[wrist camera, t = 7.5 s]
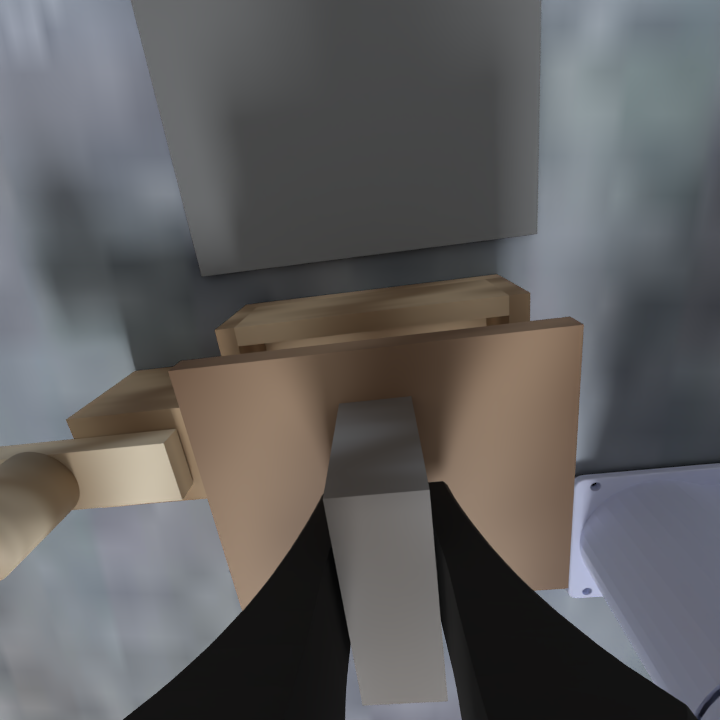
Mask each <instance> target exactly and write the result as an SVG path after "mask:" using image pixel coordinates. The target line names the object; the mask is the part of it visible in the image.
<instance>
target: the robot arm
mask: <svg viewBox="0 0 720 720" xmlns="http://www.w3.org/2000/svg"><path fill="white" fill-rule="evenodd" d="M596 482H597V483H596ZM593 483H596V484H595V485H594V486H591V485H592V484H593ZM428 484H429V489H430V500H431V512H432V523H433V535H434V547H435V559H436V570H437V582H438V594H439V605H440V617H441V623H442V627H443V631H444V635H445V639H446V643H447V647H448V652H449V656H450V660H451V664H452V668H453V673H454V678H455V682H456V687H457V693H458V699H459V705H460V711H461V717H462V720H720V463H715V464H703V465H692V466H681V467H669V468H658V469H646V470H635V471H624V472H612V473H601V474H589V475H581V476H578V477H576V478H575V482H574V499H573V516H572V533H571V550H570V567H569V584H568V588H566V590H567V592H568V594H569V595H570V596H571V597H573V598H586V597H601V596H603V597H604V599H605V600H606V602H607V604H608V605H609V607H610V609H611V610H612V612H613V614H614V616H615V617H616V619H617V621H618V622H619V624H620V626H621V627H622V629H623V631H624V633H625V634H626V636H627V638H628V639H629V641H630V643H631V644H632V646H633V648H634V650H635V651H636V653H637V655H638V656H639V658H640V660H641V661H642V663H643V665H644V667H645V668H646V670H647V672H648V673H649V675H650V677H651V678H652V680H653V682H654V683H652V682H651V681H649V680H648V679H646V678H645V677H643V676H642V675H640V674H638V673H637V672H635V671H634V670H632V669H631V668H629V667H628V666H626V665H625V664H623V663H622V662H621V661H619V660H618V659H617V658H615V657H614V656H613V655H611V654H610V653H608V652H607V651H606V650H604V649H603V648H602V647H600V646H599V645H598V644H596V643H595V642H594V641H593V640H591V639H590V638H589V637H588V636H586V635H585V634H584V633H583V632H581V631H580V630H579V629H578V628H576V627H575V626H574V625H573V624H572V623H570V622H569V621H568V620H567V619H565V618H564V617H563V616H562V615H560V614H559V613H558V612H557V611H556V610H554V609H553V608H552V607H551V606H550V605H549V604H548V603H547V602H546V601H544V600H543V599H542V598H541V597H540V596H539V595H538V594H537V593H536V592H535V591H534V590H533V589H531V588H530V587H529V586H528V585H527V584H526V583H525V582H524V581H523V580H522V579H521V578H520V577H519V576H518V575H517V574H516V573H515V572H514V571H513V570H512V569H511V568H510V567H509V565H508V564H507V563H506V562H505V561H504V560H503V559H502V558H501V557H500V556H499V554H498V553H497V552H496V551H495V550H494V549H493V548H492V546H491V545H490V544H489V543H488V542H487V541H486V539H485V538H484V537H483V536H482V534H481V533H480V532H479V531H478V529H477V528H476V527H475V525H474V524H473V523H472V522H471V520H470V519H469V518H468V516H467V515H466V513H465V512H464V511H463V509H462V508H461V506H460V505H459V503H458V502H457V500H456V499H455V497H454V496H453V494H452V492H451V490H450V489H449V487H448V485H447V484H446V483H445V482H444V481H438V482H428ZM323 495H324V494H323ZM323 495H322V496H321V498H320V500H319V502H318V504H317V506H316V507H315V509H314V511H313V513H312V515H311V516H310V518H309V520H308V521H307V523H306V525H305V526H304V528H303V530H302V531H301V533H300V534H299V536H298V538H297V539H296V541H295V542H294V544H293V545H292V547H291V549H290V550H289V552H288V553H287V554H286V556H285V557H284V559H283V560H282V561H281V563H280V564H279V566H278V567H277V568H276V570H275V571H274V573H273V574H272V575H271V577H270V578H269V579H268V581H267V582H266V583H265V584H264V586H263V587H262V588H261V590H260V591H259V592H258V593H257V594H256V596H255V597H254V598H253V599H252V600H251V602H250V603H249V604H248V605H247V606H246V607H245V609H244V610H243V611H242V612H241V613H240V614H239V615H238V616H237V617H236V618H235V620H234V621H233V622H232V623H231V624H230V625H229V626H228V627H227V628H226V629H225V630H224V631H223V632H222V634H221V635H220V636H219V637H218V638H217V639H216V640H215V641H214V642H213V643H212V644H211V645H210V646H209V647H208V648H207V649H206V650H204V651H203V652H202V653H201V654H200V655H199V656H198V657H197V658H196V659H195V660H194V661H193V662H191V663H190V664H189V665H188V666H187V667H186V668H185V669H184V670H183V671H182V672H180V673H179V674H178V675H177V676H176V677H175V678H174V679H173V680H171V681H170V682H169V683H168V684H167V685H166V686H164V687H163V688H162V689H161V690H160V691H158V692H157V693H156V694H155V695H153V696H152V697H151V698H150V699H148V700H147V701H146V702H145V703H143V704H142V705H141V706H140V707H138V708H137V709H136V710H134V711H133V712H132V713H131V714H129V715H128V716H127V717H126V718H124V719H123V720H345V701H346V684H347V672H348V663H349V654H350V645H351V642H350V637H349V632H348V627H347V621H346V616H345V611H344V606H343V601H342V596H341V590H340V585H339V580H338V575H337V570H336V565H335V559H334V554H333V549H332V544H331V539H330V534H329V529H328V523H327V518H326V513H325V508H324V503H323Z"/></svg>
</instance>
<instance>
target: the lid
mask: <svg viewBox="0 0 720 720" xmlns="http://www.w3.org/2000/svg"><path fill="white" fill-rule="evenodd" d="M583 329H584V325H583V324H582V323H580V322H578V321H577V320H575V319H573V318H571V317H562V318H554V319H545V320H536V321H527V322H518V323H510V324H501V325H492V326H483V327H474V328H465V329H457V330H448V331H439V332H430V333H421V334H413V335H404V336H395V337H386V338H377V339H368V340H360V341H351V342H342V343H333V344H324V345H316V346H307V347H298V348H289V349H280V350H271V351H263V352H254V353H245V354H236V355H227V356H219V357H210V358H201V359H192V360H183V361H180V362H179V363H177V364H176V365H175V366H174V367H172V368H171V369H170V370H169V371H168V373H169V376H170V379H171V382H172V386H173V389H174V392H175V395H176V399H177V402H178V405H179V408H180V411H181V415H182V418H183V421H184V424H185V428H186V431H187V434H188V437H189V440H190V444H191V447H192V450H193V453H194V457H195V460H196V463H197V466H198V470H199V473H200V476H201V479H202V482H203V486H204V489H205V492H206V495H207V499H208V502H209V505H210V508H211V512H212V515H213V518H214V521H215V524H216V528H217V531H218V534H219V537H220V541H221V544H222V547H223V550H224V554H225V557H226V560H227V563H228V566H229V570H230V573H231V576H232V579H233V583H234V586H235V589H236V592H237V595H238V599H239V602H240V605H241V608H242V610H244V609H245V607H246V606H247V605H248V604H249V603H250V602H251V600H252V599H253V598H254V597H255V596H256V594H257V593H258V592H259V591H260V590H261V588H262V587H263V586H264V584H265V583H266V582H267V581H268V579H269V578H270V577H271V575H272V574H273V573H274V571H275V570H276V568H277V567H278V566H279V564H280V563H281V561H282V560H283V559H284V557H285V556H286V554H287V553H288V552H289V550H290V549H291V547H292V545H293V544H294V542H295V541H296V539H297V538H298V536H299V534H300V533H301V531H302V530H303V528H304V526H305V525H306V523H307V521H308V520H309V518H310V516H311V515H312V513H313V511H314V509H315V507H316V506H317V504H318V502H319V500H320V498H321V496H322V495H323V494H324V495H323V503H324V508H325V513H326V518H327V523H328V529H329V534H330V539H331V544H332V549H333V554H334V559H335V565H336V570H337V575H338V580H339V585H340V590H341V596H342V601H343V606H344V611H345V616H346V621H347V627H348V632H349V637H350V642H351V647H352V652H353V658H354V663H355V668H356V673H357V678H358V683H359V689H360V694H361V699H362V704H363V705H382V704H403V703H423V702H443V701H448V699H447V687H446V676H445V664H444V652H443V641H442V629H441V617H440V605H439V594H438V582H437V570H436V559H435V547H434V535H433V523H432V512H431V500H430V489H429V484H428V482H438V481H444V482H445V483H446V484H447V485H448V487H449V489H450V490H451V492H452V494H453V496H454V497H455V499H456V500H457V502H458V503H459V505H460V506H461V508H462V509H463V511H464V512H465V513H466V515H467V516H468V518H469V519H470V520H471V522H472V523H473V524H474V525H475V527H476V528H477V529H478V531H479V532H480V533H481V534H482V536H483V537H484V538H485V539H486V541H487V542H488V543H489V544H490V545H491V546H492V548H493V549H494V550H495V551H496V552H497V553H498V554H499V556H500V557H501V558H502V559H503V560H504V561H505V562H506V563H507V564H508V565H509V567H510V568H511V569H512V570H513V571H514V572H515V573H516V574H517V575H518V576H519V577H520V578H521V579H522V580H523V581H524V582H525V583H526V584H527V585H528V586H529V587H530V588H531V589H533V590H534V591H535V590H550V589H565V588H568V584H569V567H570V550H571V533H572V516H573V499H574V482H575V465H576V448H577V431H578V414H579V397H580V380H581V363H582V346H583Z"/></svg>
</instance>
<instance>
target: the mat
mask: <svg viewBox="0 0 720 720" xmlns="http://www.w3.org/2000/svg"><path fill="white" fill-rule="evenodd" d="M131 3H132V7H133V11H134V15H135V18H136V22H137V26H138V30H139V34H140V38H141V42H142V46H143V50H144V54H145V57H146V61H147V65H148V69H149V73H150V77H151V81H152V85H153V89H154V93H155V96H156V100H157V104H158V108H159V112H160V116H161V120H162V124H163V128H164V132H165V135H166V139H167V143H168V147H169V151H170V155H171V159H172V163H173V167H174V171H175V174H176V178H177V182H178V186H179V190H180V194H181V198H182V202H183V206H184V210H185V213H186V217H187V221H188V225H189V229H190V233H191V237H192V241H193V245H194V249H195V252H196V256H197V260H198V264H199V268H200V272H201V276H202V277H203V276H211V275H218V274H226V273H234V272H242V271H250V270H258V269H265V268H273V267H281V266H289V265H297V264H305V263H313V262H320V261H328V260H336V259H344V258H352V257H360V256H368V255H375V254H383V253H391V252H399V251H407V250H415V249H423V248H430V247H438V246H446V245H454V244H462V243H470V242H478V241H485V240H493V239H501V238H509V237H517V236H525V235H533V234H537V212H538V156H539V101H540V46H541V0H131Z"/></svg>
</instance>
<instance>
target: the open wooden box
mask: <svg viewBox="0 0 720 720" xmlns="http://www.w3.org/2000/svg"><path fill="white" fill-rule="evenodd" d="M527 321H530V293H529V292H528V291H526V290H524V289H522V288H521V287H519V286H517V285H515V284H514V283H512V282H510V281H508V280H506V279H505V278H503V277H501V276H499V275H498V274H495V275H486V276H478V277H470V278H462V279H453V280H445V281H437V282H429V283H421V284H412V285H404V286H396V287H388V288H379V289H371V290H363V291H355V292H347V293H338V294H330V295H322V296H314V297H305V298H297V299H289V300H281V301H273V302H264V303H256V304H248V305H245V306H244V307H243V308H242V309H240V310H239V311H238V312H237V313H235V314H234V315H233V316H232V317H230V318H229V319H228V320H227V321H225V322H224V323H223V324H222V325H220V326H219V327H218V328H217V329H215V333H216V337H217V341H218V345H219V349H220V353H221V356H227V355H236V354H245V353H254V352H263V351H271V350H280V349H289V348H298V347H307V346H316V345H324V344H333V343H342V342H351V341H360V340H368V339H377V338H386V337H395V336H404V335H413V334H421V333H430V332H439V331H448V330H457V329H465V328H474V327H483V326H492V325H501V324H510V323H518V322H527ZM171 368H172V367H166V368H157V369H148V370H139V371H134V372H133V373H131V374H130V375H129V376H127V377H126V378H124V379H123V380H122V381H120V382H119V383H117V384H116V385H114V386H113V387H112V388H110V389H109V390H107V391H106V392H105V393H103V394H102V395H100V396H99V397H97V398H96V399H95V400H93V401H92V402H90V403H89V404H88V405H86V406H85V407H83V408H82V409H80V410H79V411H78V412H76V413H75V414H73V415H72V416H71V417H69V418H68V419H66V421H67V423H68V426H69V428H70V430H71V433H72V435H73V438H74V439H80V438H90V437H100V436H110V435H120V434H129V433H139V432H149V431H159V430H169V429H176V430H177V433H178V436H179V439H180V442H181V445H182V449H183V452H184V455H185V458H186V461H187V464H188V467H189V471H190V474H191V477H192V480H193V484H192V486H191V488H190V489H189V491H188V492H187V494H186V495H185V497H184V499H183V500H194V499H206V498H207V495H206V492H205V489H204V486H203V482H202V479H201V476H200V473H199V470H198V466H197V463H196V460H195V457H194V453H193V450H192V447H191V444H190V440H189V437H188V434H187V431H186V428H185V424H184V421H183V418H182V415H181V411H180V408H179V405H178V402H177V399H176V395H175V392H174V389H173V386H172V382H171V379H170V376H169V373H168V371H169V370H170V369H171ZM183 500H179V501H183ZM167 502H172V501H167ZM156 503H161V502H156ZM145 504H150V503H145ZM134 505H138V504H134ZM123 506H127V505H123ZM111 507H116V506H111ZM103 508H105V507H103Z"/></svg>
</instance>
